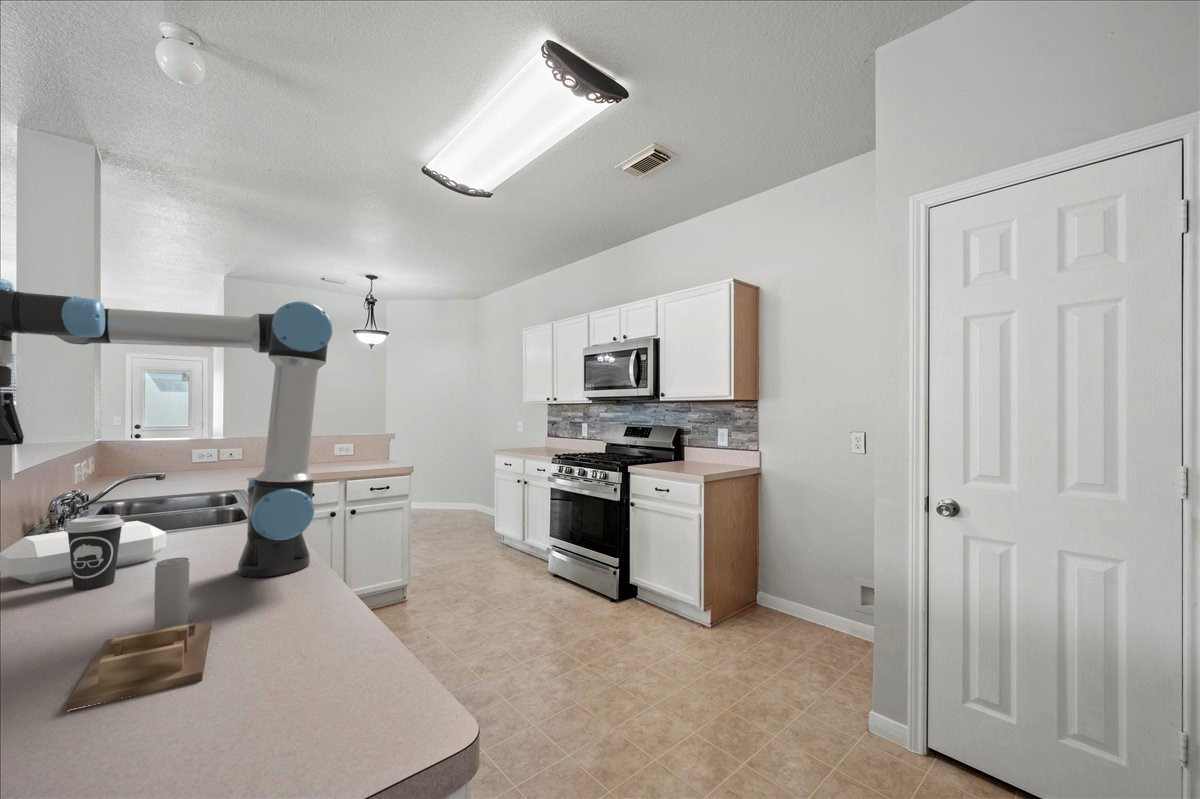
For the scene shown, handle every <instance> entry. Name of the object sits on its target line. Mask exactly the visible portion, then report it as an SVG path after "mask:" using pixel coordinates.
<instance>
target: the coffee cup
mask: <svg viewBox="0 0 1200 799" xmlns="http://www.w3.org/2000/svg"><path fill="white" fill-rule="evenodd" d="M124 523H125V521H124V519H121V515H119V514H101V515H100V514H98V515H90V516H89V515H88V516H84V517H78V518H74V519H71V520H70V522H69V524H68V525H67V526H66V527H65V530H64V531H65V532H68V539H69V549H70V559H71V569H72V576H71V579H72V588H73V590H75V591H88V590H95V589H99V588H104V587H107V586H110V585H112V584H114V582H115V579H116V578H115V576H116V569H117V567H116V563H117V556H118V549H119V541H120V534H121V528H122V526H123V525H125V524H124Z"/></svg>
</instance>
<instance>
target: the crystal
mask: <svg viewBox="0 0 1200 799" xmlns="http://www.w3.org/2000/svg"><path fill="white" fill-rule="evenodd" d="M124 524H125V525H123V526H122V528H121V534H120V541H119V549H118V556H117V563H116V568H119V567H124V566H127V565H128V566H129V565H133V564H139V563H144V562H148V560H149V561H150V560H152V558H153V557H155V556H157V554H158V553H160V552H161V551H162V550H164V549H165V548H166V547H167V532H166V531H164V530H162V529H160V528H158V527H157V526H153V525H152V524H150V523H146V522H143V521H139V520H135V521H134V520H133V521H132V520H131V521H126V522H125V521H124ZM0 572H1V573H3V574H5V575H6V576H8V577H11V578H13V579H16V580H20V581H22V582H25V583H28V584H31V585H33V584H38V583H39V584H40V583H42V582H43V583H44V582H49V581H55V580H58V578H59V579H64V578H68V577H67V576H69V577H72V569H71V559H70V549H69V539H68V532H65V530H64V531H56V532H50V533H43V534H35V535H29V536H23V537H22V538H20V539H19V540H17V541H16V542H14V543H13V544H12V545H10V546H8V547H7V548H5V549H4V550H2V551H1V552H0ZM63 577H64V578H63Z"/></svg>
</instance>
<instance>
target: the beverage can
mask: <svg viewBox="0 0 1200 799" xmlns="http://www.w3.org/2000/svg"><path fill="white" fill-rule="evenodd" d="M189 560H190V558H189V557H173V558H168V559H163V560H162V559H161V560H159V561H157V562H156V564H155V565H156V566H155V567H154V627H153V628H154V630H156V629H161V628H166V627H172V626H177V625H183V624H188V623H189V609H190V608H189V604H190V602H189V599H190V598H189V597H190V561H189Z"/></svg>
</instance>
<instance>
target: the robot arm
mask: <svg viewBox="0 0 1200 799" xmlns="http://www.w3.org/2000/svg"><path fill="white" fill-rule="evenodd" d="M13 286H14V285H13V284H12V282H11V281H9V280H7V279H4V278H0V389H1V388H9V387H11V386H12V368H11V367H10V366H8V365H10V364H12V363H13V333H15V334H23V335H24V334H25V335H26V334H29V335H42V336H53V337H57V338H59V339H60V340H62V341H64V342H66V343H68V344H72V345H73V344H74V345H80V346H81V345H90V344H103V345H104V344H106V345H107V344H115V345H117V344H119V345H122V344H123V345H144V346H145V345H147V346H175V347H179V346H180V347H204V348H205V347H206V348H233V349H234V348H237V349H252V350H254V351H255V352H256V353H262V354H263V353H264V354H268V359H269V360H270V361H271V362H272V363H273V365H274V375H273V382H272V383H273V384H272V392H271V393H272V394H271V402H270V412H269V413H270V414H269V419H268V420H269V422H268V429H267V430H268V431H267V439H266V440H267V441H266V448H265V456H264V457H265V458H264V465H263V466H264V467H263V470H262V472H260V473H259V474H258V475H256V476H255V477H252V478H251V479H250V480H248V487H247V490H246V492H247V529H246V530H247V535H246V536H247V537H246V538H247V539H246V543H245V545H244V548H243V550H242V553H241V556H240V558H239V561H238V564H237V574H238V576H241V577H246V578H266V577H273V576H275V577H276V576H279V575H280V576H282V575H285V574H290V573H294V572H297V571H300V570H303V569H304V568H306V567H308V566H309V565H310V563H311V560H310V558H311V555H310V551H309V549H308V546H307V544H306V540H305V537H304V536H303V532H305V531H306V529H308V527H309V526H310V525H311V523H312V520H313V518H314V515H315V504H314V502H313V491H314V485H315V484H314V483H315V477H314V476H313V475H311V473H310V472H309V471H308V469H309V460H310V449H311V441H312V438H311V437H312V430H313V421H314V410H315V401H316V400H315V399H316V393H317V392H316V391H317V384H318V383H317V382H318V371H319V370H320V369H321V368H322V367H323V366H325V365H326V362H327V353H328V346H329V342H330V340H331V338H332V335H333V324H332V320H331V318H330V317H329V315H328V313H327V312H326V311H325V310H324V309H322V308H321V307H320V306H318V305H316V304H315V303H311V302H308V301H303V300H302V301H292V302H289V303H286V304H284V305H281V307H279V308H278V309H277V310H276V312H275V313H255V314H253V315H252V316H235V315H234V316H233V315H222V314H221V315H218V314H204V313H203V314H202V313H188V312H187V313H186V312H171V311H169V312H168V311H156V310H153V311H152V310H141V309H140V310H139V309H138V310H137V309H122V308H120V309H119V308H105V307H104V303H103V302H102V301H100V300H98V299H95V298H87V297H86V298H85V297H81V296H78V295H77V296H69V295H68V296H67V295H55V294H42V293H41V294H40V293H31V292H30V293H29V292H23V291H22V292H21V291H16V290H15V289H14V287H13ZM14 401H15V400H14V394H13V393H12V392H0V481H12V480H15V473H16V472H15V469H16V467H15V464H16V463H15V462H16V460H15V459H16V458H15V457H16V452H15V451H16V445H22V444H23V443H24V438H25V437H24V433H23V430H22V426H21V423H20V420H19V417H18V414H17V411H16V408H15V404H14Z"/></svg>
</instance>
